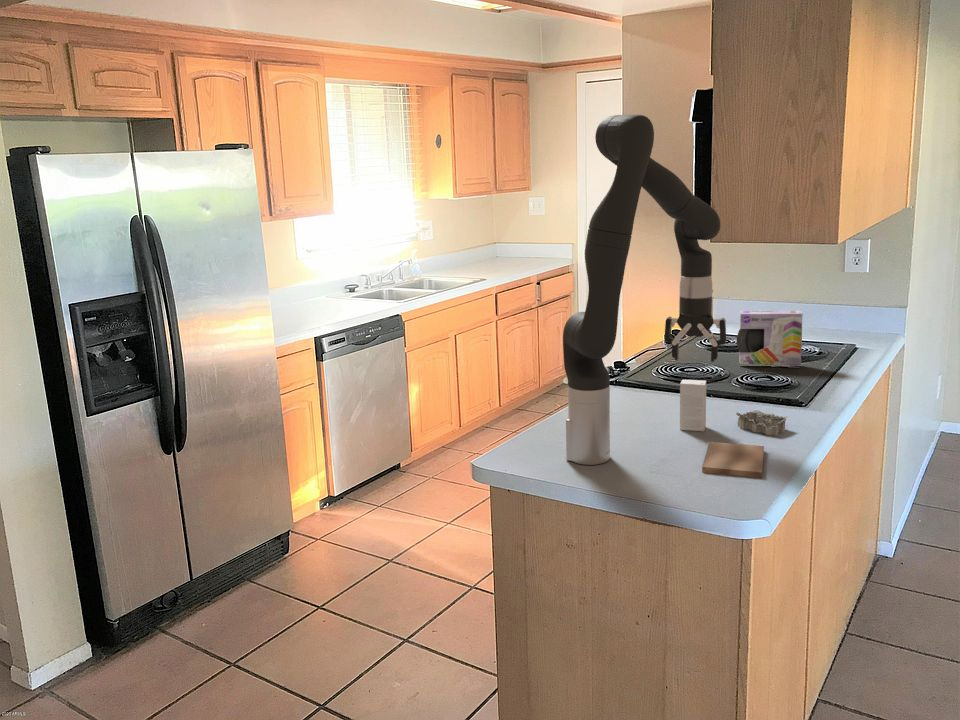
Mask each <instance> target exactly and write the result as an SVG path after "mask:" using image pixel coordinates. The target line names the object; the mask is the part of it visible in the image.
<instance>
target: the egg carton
mask: <svg viewBox="0 0 960 720" xmlns="http://www.w3.org/2000/svg"><path fill="white" fill-rule="evenodd" d="M736 415H737V416H738V417H737V418H738V420H737V427H739V429H740V430H751V431H752V433H764V435H765V434H766V436H778V435H779V432H785V431H786V421H787V419H788V416H779V415H775V414H774V413H771V414H770V413H767V412H762V411H760V410H752V411H751V410H750V411H749V412H748V411H747V412H746V413H743V414H742V413H740V412H736ZM756 423H757V424H756Z"/></svg>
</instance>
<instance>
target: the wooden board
mask: <svg viewBox="0 0 960 720" xmlns="http://www.w3.org/2000/svg"><path fill="white" fill-rule="evenodd" d="M764 451H765V445H754V444H752V445H751V444H742V443H741V444H740V443H729V442H718V441H717V442H716V441H708V444H707V448H706V452H705V455H704V459H703V463H702V469H701V472H702V473H707V474H719V475H729V476H739V477H751V478H763V477H762V476H763V467H764V466H763V463H764V455H765V454H764Z"/></svg>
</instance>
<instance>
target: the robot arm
mask: <svg viewBox="0 0 960 720" xmlns="http://www.w3.org/2000/svg"><path fill="white" fill-rule="evenodd" d="M654 130H655V129H654V124H653V123H652V121H651V119H650V118H648V117H647V116H646V115H643V114H617V115H616V114H615V115H614V114H613V115H609V116H606V117H605V118H603V119H602V120H601V121H600V123H598V126H597V127H596V131H595V137H594V138H595V145H596V147H597V150H598V151H599V153H600V154H601V155H602V156H603V157H604V158H605V159H607V160H608V161H610V162H611V163H612V164H613V165H615V166H616V170H615V174H614V178H613V181H612V183H611V186H610V188H609V190H608V191H607V192H606V195H605V196H604V198H603V199H602V200H601V202H600V203H599V204H598V206H597V207H596V209H595V210H594V212H593V214H592V216H591V218H590V220H589V224H588V229H587V235H586V239H585V240H586V241H585V246H584V261H585V263H584V264H585V269H586V270H585V271H586V275H587V283H588V284H587V285H588V286H587V287H588V293H587V294H588V296H587V301H586V305H585V311H578V312H575V313H574V314H572V315H571V316H570V317H569V318H568V319H567V320H566V322H565V324H564V327H563V331H562V350H563V351H562V352H563V354H562V355H563V366H564V372H565V375H566V378H567V399H568V401H567V405H568V407H567V409H568V416H567V419H565V441H566V442H565V444H566V445H565V446H566V447H565V450H566V451H565V452H566V458H565V459H566V461H571V462H573V463H575V464H579V465H588V466H589V465H590V466H592V465H593V466H595V465H600V464H605V463H607V462H608V461H609V460H610V459H611V458H610V457H611V435H610V434H611V414H610V413H611V410H610V409H611V408H610V407H611V405H610V404H611V403H610V402H611V400H610V399H611V397H610V395H611V393H610V391H611V389H610V388H611V386H610V385H611V384H610V383H611V382H610V381H611V380H610V379H611V377H610V372H609V370H608V369H607V368H606V366H605V362H603V361H604V360H603V358H605V357H606V356H607V355H609V354H610V353H611V351H612V349H613V348H614V345H615V343H616V340H617V339H616V338H617V332H618V323H619V322H618V321H619V320H618V318H619V307H620V299H621V298H620V297H621V292H622V289H623V288H622V287H623V282H624V275H625V270H626V263H627V260H628V256H629V250H630V246H631V241H632V235H633V229H634V223H635V217H636V212H637V208H638V204H639V199H640V195H641V190H642V189H644V191H646V192H647V194H649V196H650V197H651V198H652V199H654V201H655V202H656V203H657V204H658V205H659V207H661V209H662V210H663V211H664V212H665V213H666V214H667V215H668V216H669V217H670V218H672V219H674V224H673V231H674V232H673V233H674V236H675V240H676V245H677V248H678V252H679V255H680V281H679V302H678V303H679V304H678V305H679V308H678V309H679V310H678V311H679V313H678V317H677V318H676V317H672V316H668V317H667V318H666V319H665V325H664V339H663V341H664V342H665V343H668V344H670V345H671V356H672V358H673V359H674V361H679V356H680V355H679V354H680V353H679V352H680V346H679V345H680V344H679V342H680V341H681V340H682V339H683V338H684V337H685V336H687V337H689V338H691V337H698V338H699V337H700V338H702V337H703V336H704V338H705V339H707V340H708V342H709V343H710V344H711V346H710V347H711V348H710V363H711V362H712V363H714V362H715V360H717V359H718V356H719V355H718V353H719V346H722V345H725V344H726V342H727V323H726V318H725V317H721V318H713V293H714V289H713V280H712V279H713V278H712V273H713V271H712V270H713V257H712V253H711V252H710V251H709V250H706V249H705V248H702V247H701V246H700V244H699V241H708V240H709V241H710V240H712V239H714V238H716V236H718V234H719V233H720V231H721V220H720V217H719V214H718V213H717V211H716V210H715V209H714V208H713V207H712V206H710V205H709V204H708V203H706V202H705V201H704V200H702V199H701V198H699V197H697V196H696V195H694V194H693V193H692V192H691V190H690V189H689V188H688V186H687V185H686V184H685V183H684V181H682V180H681V179H680V178H679V177H678V175H677V174H676V173H674V172H672V171H671V170H670V169H669V168H667V167H665V166H663V165H662V164H661V163H659V162H657V161H656V160H654V159H653V158H651V156H652V152H653V151H652V150H653V148H654V144H655V143H654V141H655V131H654ZM675 324H677V325H678V327H679V328H680V329H681V330H680V331H679V332H678V333H677V334H676V336H675V337H672V328H674V327H675ZM713 325H715V327H716V328H717V329H719V338H718V339H717V337H716V336H715V335H714V333H713V331H712V330H711V328H712V326H713Z"/></svg>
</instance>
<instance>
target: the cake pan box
mask: <svg viewBox="0 0 960 720" xmlns="http://www.w3.org/2000/svg"><path fill="white" fill-rule="evenodd" d="M739 312H740V313H739V329H738V332H737V336H736V346H737V349H738V352H739V356H738V357H739V358H738V359H739V361H738V363H740V364H764V365H790V366H798V365H799V366H800V365H801V366H802V345H803V312H802V310H779V309H778V310H777V309H776V310H775V309H762V310H757V309H756V310H753V309H752V310H748V309H747V310H742V309H741V310H740V311H739Z"/></svg>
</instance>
